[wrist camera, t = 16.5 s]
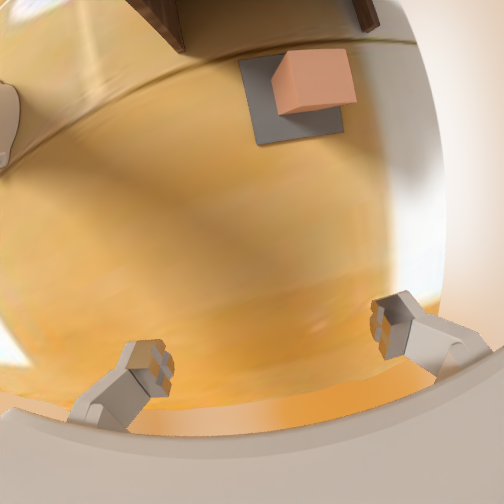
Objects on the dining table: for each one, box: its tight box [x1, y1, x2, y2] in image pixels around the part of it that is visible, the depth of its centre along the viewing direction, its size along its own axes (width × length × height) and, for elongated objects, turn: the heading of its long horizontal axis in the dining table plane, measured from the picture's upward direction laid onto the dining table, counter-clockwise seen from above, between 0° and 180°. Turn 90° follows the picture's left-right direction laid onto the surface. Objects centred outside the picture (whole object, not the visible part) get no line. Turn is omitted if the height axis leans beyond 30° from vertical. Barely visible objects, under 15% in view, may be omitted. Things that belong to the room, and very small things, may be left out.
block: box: [271, 49, 357, 115], centre depth 24 cm, size 5×5×14 cm
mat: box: [239, 54, 344, 145], centre depth 31 cm, size 12×12×1 cm
